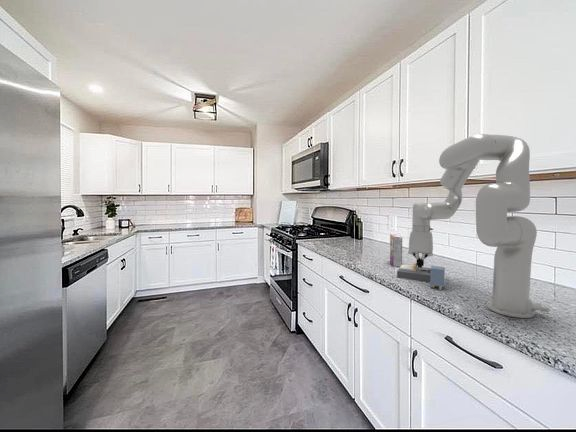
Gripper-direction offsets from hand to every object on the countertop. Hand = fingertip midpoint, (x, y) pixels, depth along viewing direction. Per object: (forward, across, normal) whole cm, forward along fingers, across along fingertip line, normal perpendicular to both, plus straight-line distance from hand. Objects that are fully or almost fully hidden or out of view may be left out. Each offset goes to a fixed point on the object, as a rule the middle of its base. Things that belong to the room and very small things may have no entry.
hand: (420, 267), depth 131 cm
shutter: (+1, +5, 0) cm, 5 cm away
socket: (+4, +1, 0) cm, 5 cm away
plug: (+4, -8, +14) cm, 17 cm away
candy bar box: (+5, +14, -18) cm, 23 cm away
